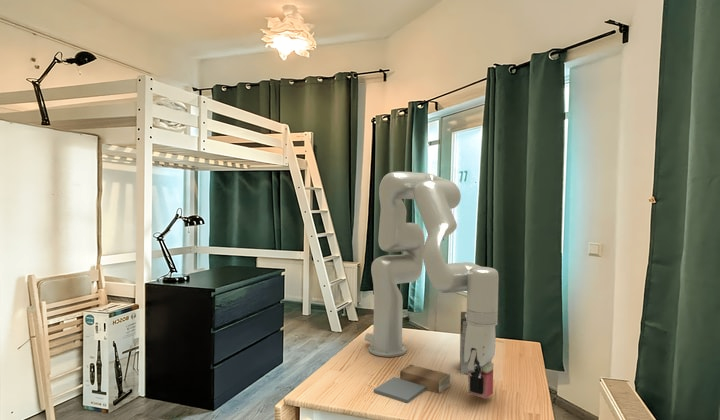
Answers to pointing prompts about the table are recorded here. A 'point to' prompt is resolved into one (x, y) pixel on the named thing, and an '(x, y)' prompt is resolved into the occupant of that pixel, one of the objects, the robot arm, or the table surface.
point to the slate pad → (400, 389)
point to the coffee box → (463, 343)
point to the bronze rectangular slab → (426, 378)
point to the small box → (484, 380)
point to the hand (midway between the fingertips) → (480, 388)
